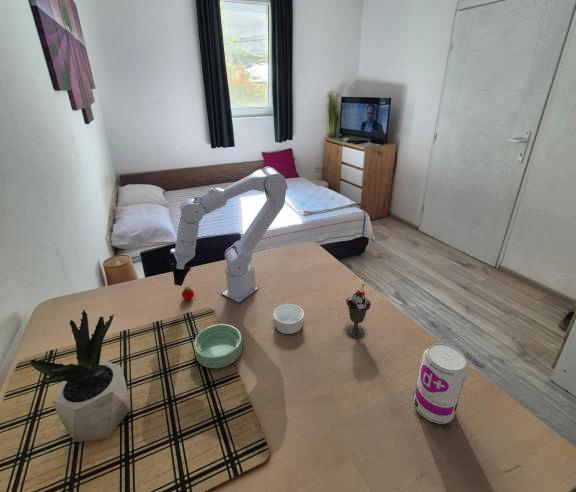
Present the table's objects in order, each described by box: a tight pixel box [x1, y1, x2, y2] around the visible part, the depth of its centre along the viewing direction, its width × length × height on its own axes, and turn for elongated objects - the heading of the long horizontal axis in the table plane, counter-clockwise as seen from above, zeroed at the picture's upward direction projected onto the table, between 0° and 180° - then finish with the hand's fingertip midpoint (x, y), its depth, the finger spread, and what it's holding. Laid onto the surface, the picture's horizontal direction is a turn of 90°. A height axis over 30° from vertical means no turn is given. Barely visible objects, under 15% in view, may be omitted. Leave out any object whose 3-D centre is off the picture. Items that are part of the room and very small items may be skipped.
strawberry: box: [181, 286, 195, 301], centre depth 106 cm, size 4×4×4 cm
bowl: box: [193, 323, 243, 369], centre depth 85 cm, size 12×12×4 cm
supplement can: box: [413, 342, 469, 425], centre depth 68 cm, size 8×8×15 cm
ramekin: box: [272, 303, 305, 335], centre depth 94 cm, size 9×9×4 cm
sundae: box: [345, 283, 372, 339], centre depth 90 cm, size 7×7×15 cm
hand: (180, 278), depth 101 cm, fingers open, 7 cm apart
